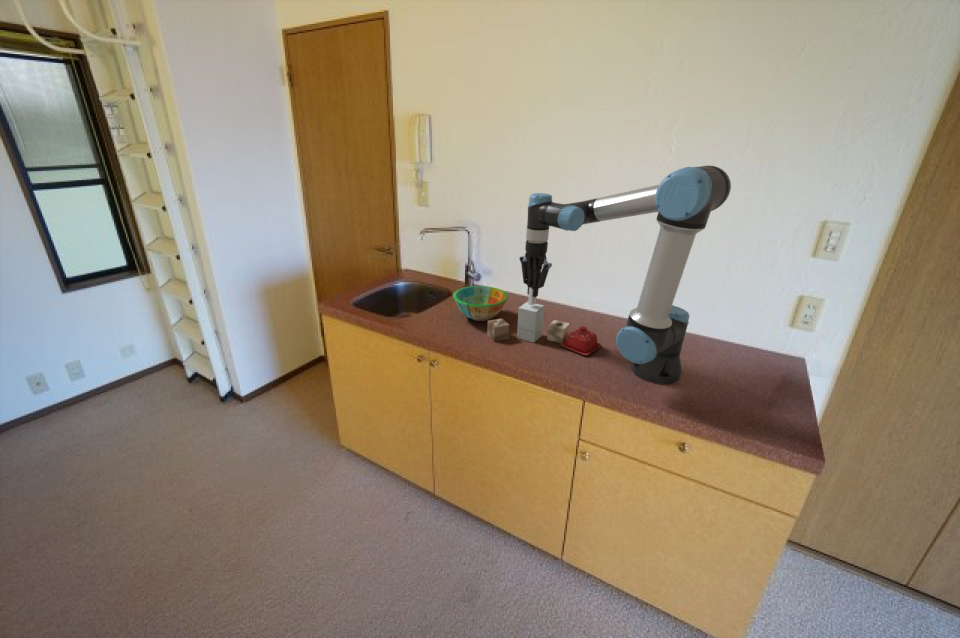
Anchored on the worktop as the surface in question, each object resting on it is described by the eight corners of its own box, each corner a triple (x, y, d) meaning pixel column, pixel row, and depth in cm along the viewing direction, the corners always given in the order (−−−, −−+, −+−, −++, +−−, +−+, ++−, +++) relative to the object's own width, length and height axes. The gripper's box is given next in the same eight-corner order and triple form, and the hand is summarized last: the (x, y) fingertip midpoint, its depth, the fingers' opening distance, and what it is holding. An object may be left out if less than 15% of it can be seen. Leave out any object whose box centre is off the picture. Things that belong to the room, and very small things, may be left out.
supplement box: (542, 335, 160) (545, 305, 155) (533, 343, 154) (536, 312, 149) (525, 330, 164) (527, 300, 158) (516, 338, 158) (518, 307, 153)
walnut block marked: (508, 339, 157) (509, 324, 155) (494, 341, 155) (494, 326, 152) (501, 332, 162) (502, 317, 160) (487, 335, 160) (487, 320, 157)
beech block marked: (567, 337, 159) (569, 322, 157) (562, 343, 155) (563, 328, 152) (553, 333, 162) (554, 319, 159) (547, 339, 157) (548, 324, 155)
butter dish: (558, 347, 153) (560, 326, 149) (576, 337, 160) (579, 317, 156) (585, 359, 145) (588, 337, 142) (603, 348, 153) (606, 327, 149)
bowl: (474, 302, 188) (474, 281, 184) (517, 315, 176) (518, 293, 172) (442, 319, 172) (441, 296, 167) (486, 334, 160) (487, 310, 156)
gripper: (559, 242, 141) (552, 306, 152) (529, 235, 150) (525, 296, 160) (545, 246, 137) (539, 312, 147) (515, 238, 145) (511, 301, 155)
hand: (531, 303), depth 153 cm, fingers closed
